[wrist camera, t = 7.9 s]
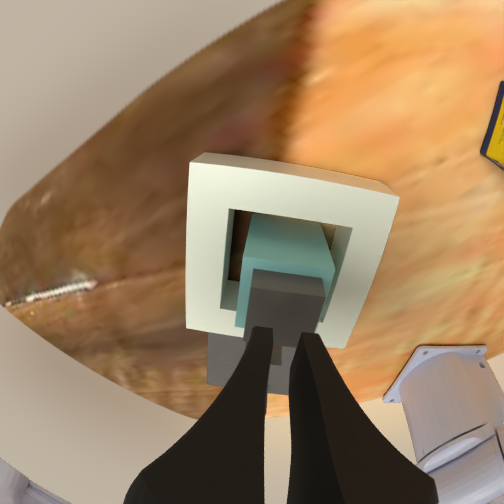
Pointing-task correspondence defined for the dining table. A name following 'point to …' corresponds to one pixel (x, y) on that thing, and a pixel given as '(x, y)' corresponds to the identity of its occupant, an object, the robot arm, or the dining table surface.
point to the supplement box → (496, 132)
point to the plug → (283, 278)
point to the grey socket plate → (229, 354)
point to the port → (289, 205)
